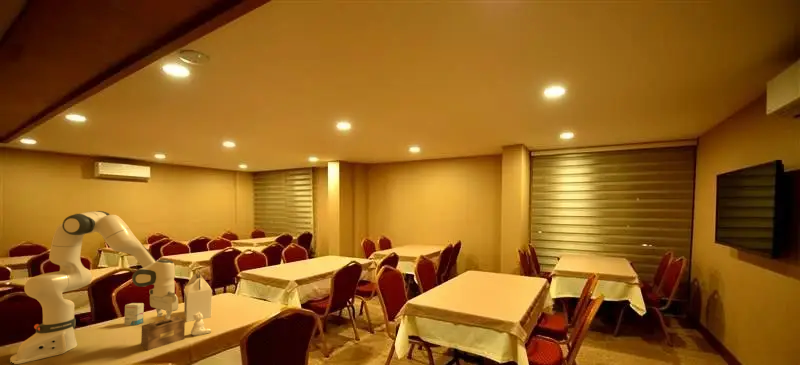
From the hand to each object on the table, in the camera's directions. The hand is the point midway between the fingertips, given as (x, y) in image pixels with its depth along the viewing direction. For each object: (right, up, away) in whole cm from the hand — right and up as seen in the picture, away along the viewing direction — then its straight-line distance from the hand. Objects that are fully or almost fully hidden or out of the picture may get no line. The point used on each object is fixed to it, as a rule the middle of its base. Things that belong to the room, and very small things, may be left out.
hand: (163, 317), depth 172 cm
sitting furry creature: (+13, -13, +10) cm, 21 cm away
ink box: (-38, -15, +27) cm, 49 cm away
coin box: (0, -13, -1) cm, 13 cm away
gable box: (-8, -15, +41) cm, 44 cm away
